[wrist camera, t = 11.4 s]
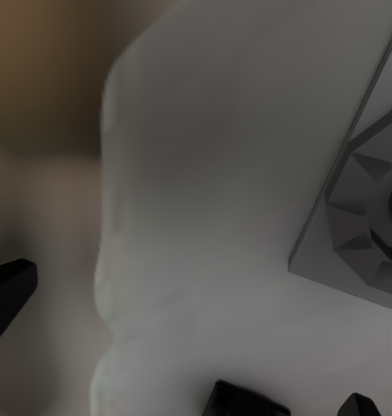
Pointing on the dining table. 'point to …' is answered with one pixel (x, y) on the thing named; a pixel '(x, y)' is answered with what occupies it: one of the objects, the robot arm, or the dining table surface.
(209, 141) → the dining table surface
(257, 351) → the dining table surface
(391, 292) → the grey notched ring
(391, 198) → the grey cylinder
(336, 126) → the dining table surface
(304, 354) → the dining table surface
